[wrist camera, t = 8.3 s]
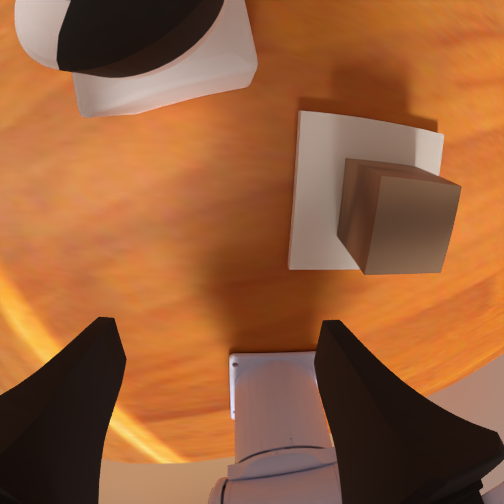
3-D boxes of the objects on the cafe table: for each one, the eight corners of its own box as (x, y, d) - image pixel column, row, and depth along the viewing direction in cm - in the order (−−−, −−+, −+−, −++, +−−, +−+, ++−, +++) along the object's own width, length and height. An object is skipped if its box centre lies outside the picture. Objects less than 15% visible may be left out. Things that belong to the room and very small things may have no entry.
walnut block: (402, 237, 19) (440, 272, 15) (336, 235, 19) (364, 274, 15) (415, 166, 17) (461, 186, 13) (345, 158, 17) (381, 175, 12)
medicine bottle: (229, -16, 13) (222, -146, 2) (251, 87, 16) (277, 38, 5) (115, 15, 13) (-5, -53, 2) (133, 115, 16) (-4, 136, 5)
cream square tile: (413, 263, 21) (418, 268, 21) (287, 264, 21) (289, 269, 20) (437, 133, 17) (444, 134, 16) (298, 110, 16) (300, 110, 16)
